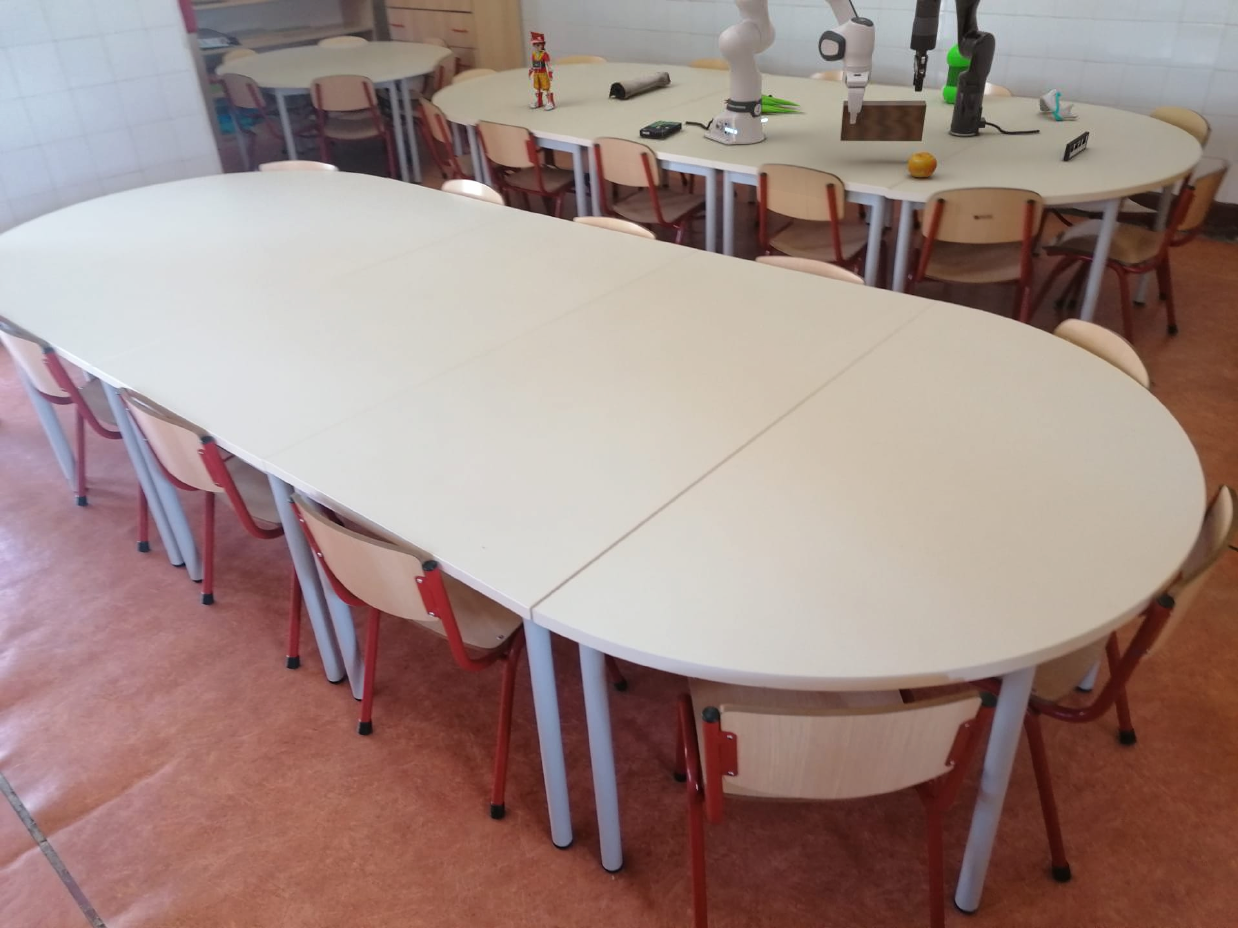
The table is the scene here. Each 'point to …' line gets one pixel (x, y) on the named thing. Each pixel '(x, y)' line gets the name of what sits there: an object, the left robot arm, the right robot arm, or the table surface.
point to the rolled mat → (638, 84)
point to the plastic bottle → (954, 73)
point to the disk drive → (660, 129)
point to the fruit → (922, 164)
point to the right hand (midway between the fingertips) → (917, 88)
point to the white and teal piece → (1055, 105)
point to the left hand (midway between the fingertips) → (852, 120)
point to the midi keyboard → (1076, 145)
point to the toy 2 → (769, 104)
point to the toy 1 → (541, 71)
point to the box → (885, 121)
